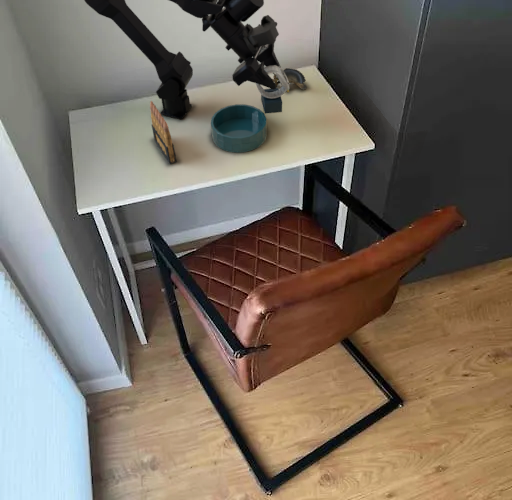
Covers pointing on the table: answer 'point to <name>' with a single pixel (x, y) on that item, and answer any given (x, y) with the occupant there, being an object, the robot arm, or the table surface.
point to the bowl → (239, 128)
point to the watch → (273, 91)
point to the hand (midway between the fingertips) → (278, 81)
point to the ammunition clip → (162, 134)
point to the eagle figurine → (292, 78)
